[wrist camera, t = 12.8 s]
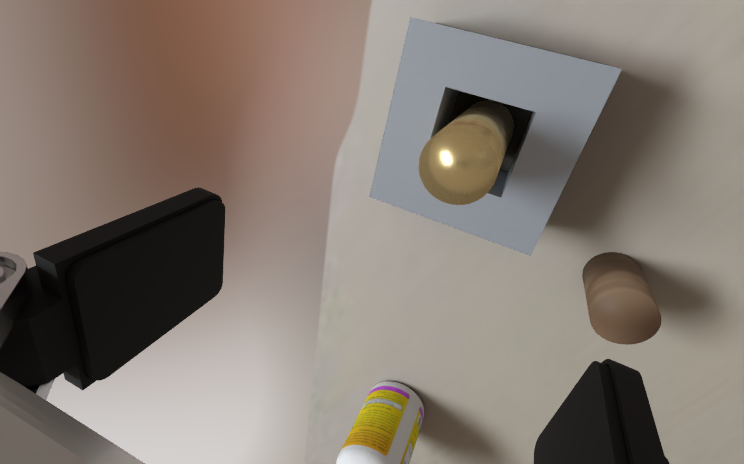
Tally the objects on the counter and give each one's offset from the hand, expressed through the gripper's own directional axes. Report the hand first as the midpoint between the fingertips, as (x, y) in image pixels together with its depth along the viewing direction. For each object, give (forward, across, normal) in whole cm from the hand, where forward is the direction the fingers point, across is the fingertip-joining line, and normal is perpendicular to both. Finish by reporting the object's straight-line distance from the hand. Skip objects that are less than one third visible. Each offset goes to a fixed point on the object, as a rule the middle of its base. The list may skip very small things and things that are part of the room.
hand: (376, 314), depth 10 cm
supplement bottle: (+24, -1, +32) cm, 40 cm away
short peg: (+24, -12, +8) cm, 29 cm away
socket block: (+24, +1, 0) cm, 24 cm away
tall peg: (+24, +1, 0) cm, 24 cm away
